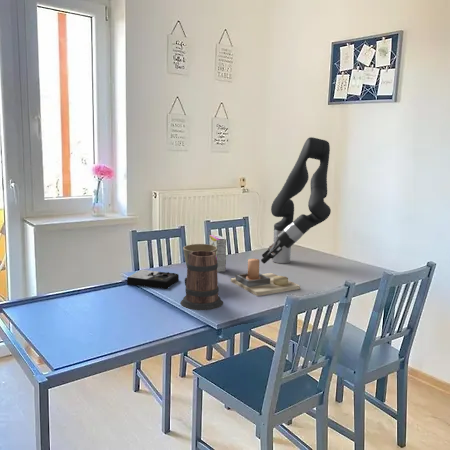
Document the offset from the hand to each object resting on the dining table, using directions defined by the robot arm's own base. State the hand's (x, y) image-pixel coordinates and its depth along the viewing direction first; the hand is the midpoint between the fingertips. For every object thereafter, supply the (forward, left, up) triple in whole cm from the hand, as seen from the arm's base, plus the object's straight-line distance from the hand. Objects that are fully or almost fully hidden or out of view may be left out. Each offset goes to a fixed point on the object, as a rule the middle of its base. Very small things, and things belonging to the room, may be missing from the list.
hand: (262, 259), depth 203 cm
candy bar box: (-32, -5, -12) cm, 35 cm away
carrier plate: (0, +2, -12) cm, 12 cm away
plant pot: (-16, -22, -12) cm, 30 cm away
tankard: (+5, -33, -12) cm, 36 cm away
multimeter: (-25, -41, -13) cm, 50 cm away
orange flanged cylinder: (-2, -3, -10) cm, 11 cm away
